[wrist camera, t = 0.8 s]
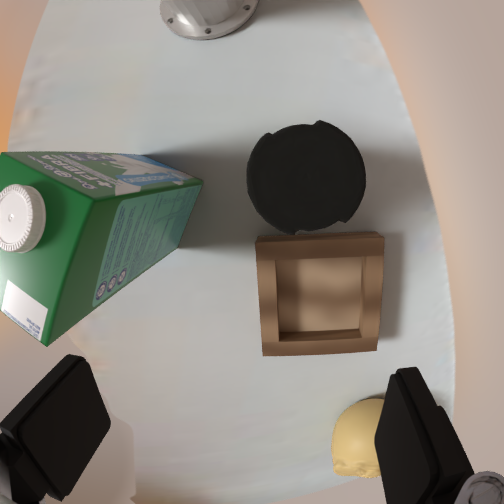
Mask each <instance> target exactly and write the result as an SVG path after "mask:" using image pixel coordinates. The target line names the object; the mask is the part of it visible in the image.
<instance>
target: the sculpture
mask: <svg viewBox="0 0 504 504" xmlns="http://www.w3.org/2000/svg"><path fill="white" fill-rule="evenodd" d="M383 404H384V399H366V400H363V401H360V402H357V403H355V404H353V405H352V406H350V407H349V408H347V409H346V410H345V411H344V412H343V413H342V414H341V415H340V417H339V418H338V420H337V422H336V424H335V427H334V430H333V436H332V445H331V452H332V456H333V464H334V467H333V470H334V472H335V473H336V474H338V475H340V476H359V477H361V476H362V477H366V478H369V477H370V478H373V477H377V476H380V475H381V472H380V468H379V463H378V458H377V454H376V450H375V445H374V437H375V433H376V429H377V426H378V422H379V419H380V415H381V411H382V407H383Z"/></svg>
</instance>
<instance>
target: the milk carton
mask: <svg viewBox="0 0 504 504" xmlns="http://www.w3.org/2000/svg"><path fill="white" fill-rule="evenodd" d="M202 184H203V181H202V180H199V179H197V178H195V177H192V176H190V175H188V174H185V173H183V172H181V171H178V170H176V169H174V168H171V167H169V166H167V165H164V164H162V163H159V162H157V161H155V160H152V159H150V158H147V157H145V156H142V155H135V154H118V153H96V152H2V153H1V155H0V311H2V312H3V313H4V314H5V315H6V316H8V317H9V318H10V319H11V320H13V321H14V322H15V323H16V324H17V325H19V326H20V327H21V328H22V329H24V330H25V331H26V332H28V333H29V334H30V335H31V336H33V337H34V338H35V339H37V340H38V341H40V342H41V343H42V344H44V345H45V346H46V347H48V346H49V345H50V344H51V343H52V342H54V341H55V340H56V339H58V338H59V337H60V336H61V335H63V334H64V333H65V332H66V331H68V330H69V329H70V328H71V327H73V326H74V325H75V324H76V323H78V322H79V321H80V320H82V319H83V318H84V317H85V316H87V315H88V314H89V313H91V312H92V311H93V310H94V309H96V308H97V307H98V306H100V305H101V304H102V303H104V302H105V301H106V300H108V299H109V298H110V297H112V296H113V295H114V294H115V293H117V292H118V291H119V290H121V289H122V288H123V287H125V286H126V285H127V284H129V283H130V282H132V281H133V280H134V279H136V278H137V277H138V276H140V275H141V274H142V273H144V272H145V271H146V270H148V269H149V268H151V267H152V266H153V265H155V264H156V263H157V262H159V261H160V260H162V259H163V258H164V257H166V256H167V255H168V254H170V253H171V252H173V251H174V250H175V249H177V247H178V245H179V242H180V239H181V237H182V234H183V231H184V229H185V226H186V224H187V221H188V219H189V216H190V214H191V211H192V209H193V206H194V204H195V201H196V199H197V196H198V194H199V191H200V189H201V187H202Z"/></svg>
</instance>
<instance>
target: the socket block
mask: <svg viewBox="0 0 504 504" xmlns="http://www.w3.org/2000/svg"><path fill="white" fill-rule="evenodd" d="M255 249H256V263H257V278H258V293H259V308H260V322H261V337H262V352H263V356H298V355H323V354H341V353H355V352H368V351H377V343H378V334H379V324H380V313H381V300H382V285H383V266H384V237H383V236H381V235H380V234H379V233H377V232H351V233H324V234H299V235H276V236H258V238H257V240H256V242H255Z"/></svg>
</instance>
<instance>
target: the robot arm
mask: <svg viewBox="0 0 504 504" xmlns="http://www.w3.org/2000/svg"><path fill="white" fill-rule="evenodd" d="M257 4H258V0H161V2H160V14H161V17H162V20H163V21H164V23H165V24H166V26H167V27H168V28H169V29H170V30H171V31H173V32H174V33H176V34H177V35H179V36H182V37H184V38H188V39H194V40H206V39H213V38H217V37H221V36H224V35H226V34H228V33H231V32H233V31H234V30H236V29H237V28H239V27H241V26H242V25H243V24H244V23H245V22H246V21H247V20H248V19H249V18H250V17H251V16H252V14H253V13H254V11H255V9H256V7H257ZM209 32H211V33H210V34H208V33H209ZM110 425H111V421H110V418H109V415H108V413H107V410H106V408H105V405H104V403H103V400H102V398H101V395H100V392H99V390H98V387H97V384H96V381H95V379H94V376H93V373H92V370H91V367H90V365H89V363H88V362H86V359H84V357H81V356H76V355H71V354H69V355H66V356H65V357H64V358H63V359H62V360H61V361H60V362H59V363H58V364H57V365H56V366H55V367H54V368H53V369H52V370H51V371H50V372H49V373H48V374H47V375H46V376H45V377H44V378H43V379H42V380H41V381H40V382H39V383H38V384H37V385H36V386H35V387H34V388H33V389H32V390H31V391H30V392H29V393H28V394H27V395H26V396H25V397H24V398H23V399H22V400H21V401H20V402H19V404H18V405H17V406H16V407H15V408H14V409H13V410H12V411H11V412H10V413H9V414H8V415H7V416H6V417H5V418H4V419H3V421H2V422H1V423H0V429H1V431H2V433H1V434H0V504H46V503H45V498H44V496H45V494H46V493H47V494H48V495H49V496H50V497H52V498H54V499H57V500H59V501H61V502H62V500H63V499H64V497H65V496H67V495H69V494H70V493H71V491H72V489H73V488H74V486H75V484H76V482H77V481H78V479H79V478H80V476H81V474H82V472H83V471H84V469H85V468H86V466H87V464H88V463H89V461H90V459H91V458H92V456H93V455H94V453H95V451H96V450H97V448H98V447H99V445H100V443H101V442H102V440H103V438H104V437H105V435H106V434H107V432H108V430H109V429H110ZM374 445H375V450H376V454H377V458H378V463H379V468H380V472H381V477H382V482H383V487H384V492H385V497H386V502H387V504H504V477H503V476H502V475H500V474H498V473H495V472H490V471H484V472H479V473H476V474H474V471H473V469H472V466H471V464H470V462H469V460H468V458H467V455H466V453H465V451H464V449H463V447H462V444H461V442H460V440H459V438H458V436H457V434H456V432H455V430H454V428H453V426H452V424H451V422H450V420H449V418H448V416H447V414H446V412H445V410H444V409H443V407H441V406H437V404H436V402H435V400H434V398H433V396H432V394H431V392H430V390H429V389H428V387H427V385H426V383H425V381H424V379H423V377H422V375H421V373H420V371H419V369H418V368H417V367H409V368H400V369H397V371H396V374H392V375H391V376H390V379H389V383H388V388H387V392H386V396H385V400H384V404H383V407H382V411H381V415H380V419H379V422H378V426H377V429H376V433H375V437H374Z"/></svg>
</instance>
